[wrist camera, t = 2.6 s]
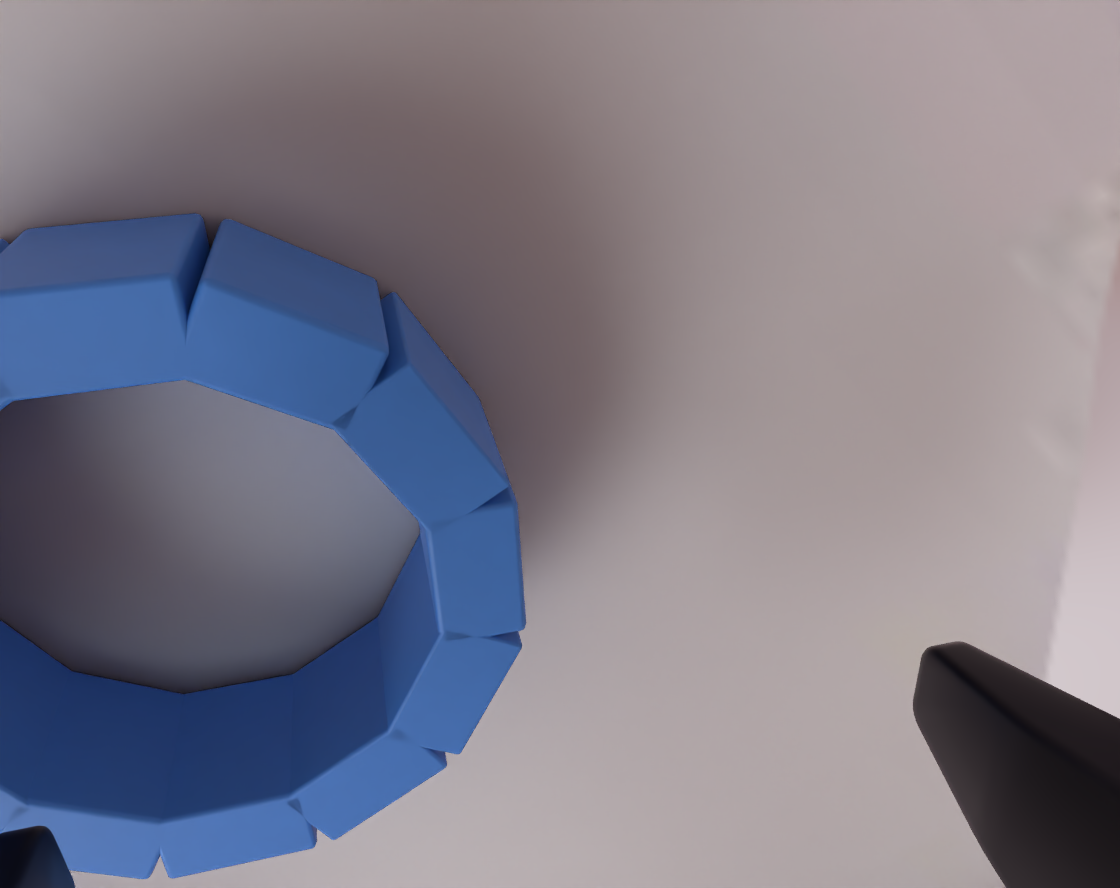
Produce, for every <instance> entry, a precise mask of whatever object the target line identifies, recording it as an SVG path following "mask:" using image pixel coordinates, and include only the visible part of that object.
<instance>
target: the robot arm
mask: <svg viewBox="0 0 1120 888" xmlns="http://www.w3.org/2000/svg"><path fill="white" fill-rule="evenodd" d="M913 711H914V716H915V719H916V722H917V724H918V726H919V728H920V730H921V732H922V734H923V736H924V738H925V740H926V742H927V744H928V746H929V748H930V750H931V752H932V754H933V756H934V758H935V760H936V762H937V764H938V765H939V767H940V769H941V771H942V773H943V775H944V777H945V779H946V781H947V783H948V785H949V787H950V789H951V791H952V793H953V795H954V797H955V799H956V801H957V803H958V804H959V806H960V808H961V810H962V812H963V814H964V816H965V818H966V820H967V822H968V824H969V826H970V828H971V830H972V832H973V833H974V835H975V837H976V839H977V841H978V843H979V844H980V846H981V848H982V850H983V851H984V853H985V855H986V856H987V858H988V860H989V861H990V863H991V864H992V866H993V868H994V869H995V871H996V872H997V874H998V876H999V877H1000V879H1001V880H1002V882H1003V883H1004V885H1005V886H1006V888H1120V719H1119V718H1117V717H1115V716H1113V715H1111V714H1109V713H1107V712H1105V711H1102V710H1100V709H1099V708H1096V707H1094V706H1092V705H1090V704H1088V703H1086V702H1084V701H1082V700H1080V699H1078V698H1076V697H1074V696H1072V695H1070V694H1068V693H1066V692H1064V691H1062V690H1060V689H1058V688H1056V687H1054V686H1052V685H1050V684H1048V683H1046V682H1044V681H1042V680H1040V679H1038V678H1036V677H1034V676H1032V675H1030V674H1028V673H1026V672H1024V671H1022V670H1020V669H1018V668H1016V667H1014V666H1012V665H1010V664H1008V663H1006V662H1004V661H1002V660H1000V659H998V658H996V657H994V656H992V655H990V654H988V653H986V652H984V651H982V650H980V649H978V648H976V647H974V646H972V645H969V644H967V643H964V642H951V643H946V644H941V645H936V646H931V647H929V648H927V649H926V650H925V652H924V653H923V654H922V658H921V662H920V667H919V673H918V678H917V683H916V688H915V693H914V699H913ZM0 888H75V885H74V881H73V878H72V876H71V873H70V871H69V869H68V867H67V864H66V862H65V860H64V858H63V855H62V853H61V851H60V849H59V846H58V844H57V842H56V840H55V837H54V835H53V834H52V832H51V831H50V829H48V828H47V827H45V826H39V825H38V826H33V827H28V828H23V829H18V830H13V831H8V832H4V833H1V834H0Z"/></svg>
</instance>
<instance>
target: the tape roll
mask: <svg viewBox="0 0 1120 888" xmlns="http://www.w3.org/2000/svg"><path fill="white" fill-rule="evenodd" d="M178 380H187V381H190V382H193V383H196V384H199V385H202V386H205V387H208V388H211V389H214V390H217V391H220V392H223V393H226V394H229V395H232V396H235V397H238V398H241V399H244V400H247V401H250V402H253V403H256V404H259V405H262V406H265V407H268V408H271V409H274V410H277V411H280V412H283V413H286V414H289V415H292V416H295V417H298V418H301V419H303V420H306V421H309V422H312V423H315V424H318V425H321V426H324V427H327V428H330V429H333V430H335V431H336V432H337V434H338V435H339V436H340V437H341V438H342V439H343V440H344V441H345V442H346V443H347V444H348V445H349V447H350V448H351V449H352V450H353V451H354V452H355V453H356V454H357V455H358V456H359V457H360V458H361V460H362V461H363V462H364V463H365V464H366V465H367V466H368V467H369V468H370V469H371V470H372V471H373V472H374V474H375V475H376V476H377V477H378V478H379V479H380V480H381V481H382V482H383V483H384V484H385V485H386V487H387V488H388V489H389V490H390V491H391V492H392V493H393V494H394V495H395V496H396V497H397V498H398V500H399V501H400V502H401V503H402V504H403V505H404V506H405V507H406V508H407V509H408V510H409V511H410V513H411V514H412V515H413V516H414V517H415V518H416V519H417V520H418V521H419V527H420V534H419V536H418V538H417V540H416V542H415V544H414V546H413V548H412V550H411V552H410V554H409V556H408V558H407V560H406V562H405V564H404V566H403V568H402V570H401V572H400V574H399V576H398V578H397V580H396V582H395V584H394V586H393V588H392V590H391V592H390V594H389V596H388V598H387V600H386V602H385V604H384V606H383V607H382V609H381V611H380V613H379V615H378V617H377V618H375V619H374V620H373V621H371V622H370V623H368V624H367V625H365V626H364V627H362V628H361V629H359V630H358V631H356V632H355V633H353V634H352V635H350V636H349V637H347V638H346V639H344V640H343V641H341V642H340V643H338V644H337V645H336V646H334V647H333V648H331V649H330V650H328V651H327V652H325V653H324V654H322V655H321V656H319V657H318V658H316V659H315V660H313V661H312V662H310V663H309V664H307V665H306V666H304V667H303V668H301V669H300V670H299V671H297V672H296V673H294V674H291V675H285V676H280V677H274V678H269V679H263V680H258V681H252V682H247V683H241V684H236V685H230V686H225V687H219V688H214V689H208V690H203V691H197V692H192V693H186V694H181V693H176V692H171V691H166V690H161V689H156V688H151V687H147V686H142V685H137V684H132V683H127V682H122V681H117V680H112V679H107V678H102V677H98V676H93V675H88V674H83V673H78V672H73V671H71V670H69V669H68V668H67V667H65V666H64V665H62V664H61V663H60V662H58V661H57V660H55V659H54V658H53V657H51V656H50V655H48V654H47V653H46V652H44V651H43V650H41V649H40V648H39V647H37V646H36V645H34V644H33V643H32V642H30V641H29V640H28V639H26V638H25V637H23V636H22V635H21V634H19V633H18V632H16V631H15V630H14V629H12V628H11V627H9V626H8V625H7V624H5V623H4V622H2V621H1V620H0V834H1V833H4V832H8V831H13V830H18V829H23V828H28V827H33V826H38V825H39V826H45V827H47V828H48V829H50V831H51V832H52V834H53V835H54V837H55V840H56V842H57V844H58V846H59V849H60V851H61V853H62V855H63V858H64V860H65V862H66V864H67V867H68V869H69V870H73V871H81V872H89V873H97V874H105V875H113V876H121V877H129V878H137V879H147V878H149V877H150V875H151V874H152V872H153V870H154V868H155V866H156V863H157V861H158V859H159V857H160V855H161V858H162V860H163V863H164V866H165V869H166V871H167V874H168V877H170V878H178V877H182V876H187V875H191V874H196V873H201V872H205V871H210V870H215V869H219V868H224V867H229V866H233V865H238V864H242V863H247V862H252V861H256V860H261V859H266V858H270V857H275V856H280V855H284V854H289V853H293V852H298V851H303V850H307V849H312V848H314V847H315V845H316V842H317V829H318V830H320V831H321V832H322V833H324V834H325V835H326V836H328V837H329V838H330V839H332V840H335V839H337V838H339V837H340V836H342V835H343V834H345V833H346V832H348V831H350V830H351V829H353V828H354V827H356V826H357V825H359V824H360V823H362V822H363V821H365V820H366V819H368V818H369V817H371V816H372V815H374V814H376V813H377V812H379V811H380V810H382V809H383V808H385V807H386V806H388V805H389V804H391V803H392V802H394V801H395V800H397V799H398V798H400V797H402V796H403V795H405V794H406V793H408V792H409V791H411V790H412V789H414V788H415V787H417V786H418V785H420V784H421V783H423V782H424V781H426V780H428V779H429V778H431V777H432V776H434V775H435V774H437V773H438V772H440V771H441V770H443V769H444V768H445V767H446V766H447V761H446V755H445V752H449V753H454V754H460V753H461V752H462V750H463V748H464V746H465V745H466V743H467V741H468V739H469V738H470V736H471V734H472V733H473V731H474V729H475V727H476V726H477V724H478V722H479V721H480V719H481V717H482V715H483V714H484V712H485V710H486V708H487V707H488V705H489V703H490V702H491V700H492V698H493V696H494V695H495V693H496V691H497V689H498V688H499V686H500V684H501V683H502V681H503V679H504V677H505V676H506V674H507V672H508V670H509V669H510V667H511V665H512V664H513V662H514V660H515V658H516V657H517V655H518V653H519V652H520V650H521V648H522V643H521V640H520V636H519V633H518V631H521V630H523V629H524V628H525V625H526V614H525V600H524V587H523V573H522V559H521V545H520V531H519V517H518V504H517V501H516V498H515V496H514V493H513V490H512V487H511V485H510V482H509V479H508V476H507V473H506V471H505V468H504V465H503V462H502V460H501V457H500V454H499V451H498V449H497V446H496V443H495V440H494V438H493V435H492V432H491V429H490V427H489V424H488V421H487V419H486V416H485V413H484V410H483V408H482V405H481V402H480V399H479V397H478V396H477V395H476V393H475V392H474V391H473V390H472V388H471V387H470V386H469V385H468V383H467V382H466V381H465V379H464V378H463V377H462V376H461V374H460V373H459V372H458V371H457V369H456V368H455V367H454V366H453V364H452V363H451V362H450V361H449V359H448V358H447V357H446V355H445V354H444V353H443V352H442V350H441V349H440V348H439V347H438V345H437V344H436V343H435V342H434V340H433V339H432V338H431V336H430V335H429V334H428V333H427V331H426V330H425V329H424V328H423V326H422V325H421V324H420V323H419V321H418V320H417V319H416V318H415V316H414V315H413V314H412V312H411V311H410V310H409V309H408V307H407V306H406V305H405V304H404V302H403V301H402V300H401V299H400V297H399V296H398V295H397V293H395V292H392V293H390V294H389V295H387V296H386V297H384V298H383V299H382V300H380V296H379V291H378V285H377V281H376V280H375V279H374V278H372V277H370V276H367V275H365V274H362V273H360V272H358V271H355V270H353V269H350V268H348V267H345V266H343V265H340V264H338V263H336V262H333V261H331V260H328V259H326V258H323V257H321V256H319V255H316V254H314V253H311V252H309V251H306V250H304V249H302V248H299V247H297V246H294V245H292V244H289V243H287V242H284V241H282V240H280V239H277V238H275V237H272V236H270V235H267V234H265V233H263V232H260V231H258V230H255V229H253V228H250V227H248V226H245V225H243V224H241V223H238V222H236V221H233V220H231V219H224V220H223V221H222V222H221V223H220V225H219V228H218V231H217V233H216V236H215V239H214V242H213V244H212V247H211V250H210V247H209V242H208V238H207V234H206V229H205V225H204V220H203V218H202V217H201V215H199V214H195V213H193V214H182V215H171V216H161V217H150V218H139V219H128V220H117V221H107V222H96V223H85V224H74V225H63V226H53V227H42V228H31V229H27V230H25V231H23V232H22V233H21V234H20V235H19V236H18V237H17V238H16V239H15V240H14V241H13V242H12V243H11V244H9V243H8V242H7V241H5V240H4V239H0V411H1V410H2V409H3V408H5V407H6V406H7V405H9V404H10V403H11V402H13V401H16V400H24V399H32V398H40V397H48V396H57V395H65V394H73V393H81V392H89V391H97V390H105V389H113V388H121V387H130V386H138V385H146V384H154V383H162V382H170V381H178Z"/></svg>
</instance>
